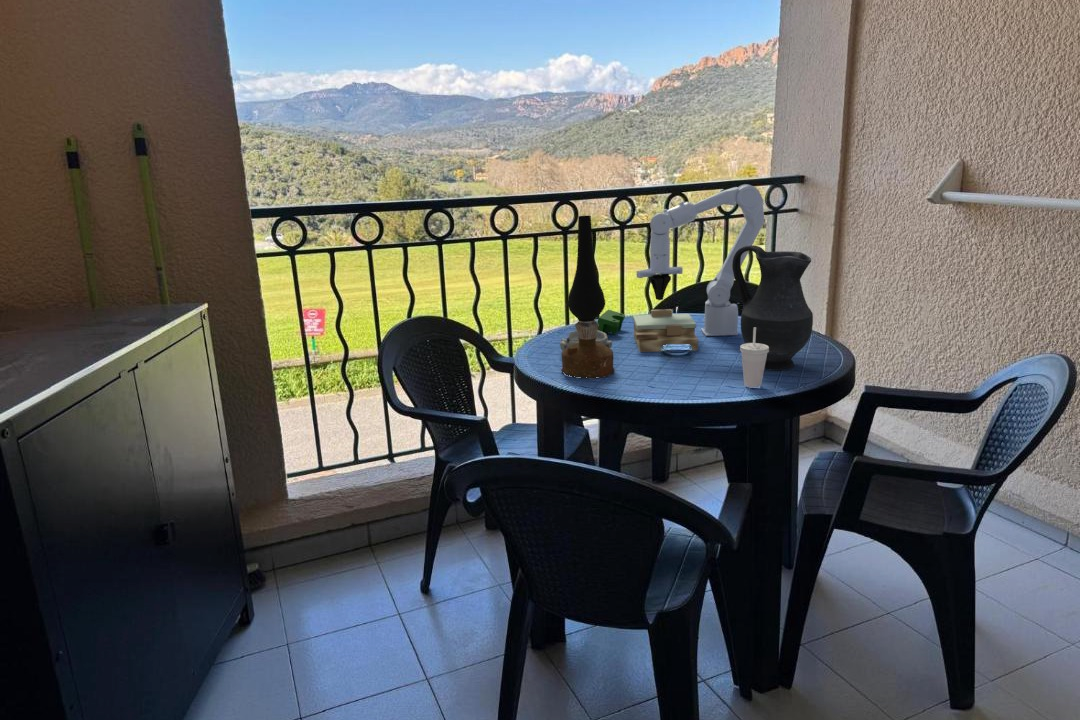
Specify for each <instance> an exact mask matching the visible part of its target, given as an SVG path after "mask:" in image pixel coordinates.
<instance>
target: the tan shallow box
mask: <svg viewBox="0 0 1080 720" xmlns="http://www.w3.org/2000/svg"><path fill="white" fill-rule="evenodd" d="M695 330H696V328H682V335H671V336H667V334H666V329H642V330H637V328H636V326H635V323H634V322H633V337H634V340H635V343H636V345H637V348H638V350H639V352H640V353H644V352H645V353H648V352H649V353H651V352H662V351H661V348H662V346H663V345H666V344H690V345H691V347H692V350H691V351H698V350H699V349H698V348H699V345H698V344H699V339H698V337H697V336H696V333H695V332H696V331H695ZM642 332H657V333H658V339H644V340H636V338H635V333H642Z"/></svg>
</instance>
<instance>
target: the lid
mask: <svg viewBox="0 0 1080 720" xmlns="http://www.w3.org/2000/svg"><path fill="white" fill-rule="evenodd" d="M632 320H633V324H634V323H635V326H636V328H637V330H642V329H666V334H667V336H671V335H682V328H695V329H696V328H697V323H696V322H695V320H694V319H693V317H692V316H691V315H690V314H689V313H673V310H672V309H671V308H669V309H668V308H666V309H664V308H663V309H660V308H659V309H650V314H637V315H635V314H633V315H632Z"/></svg>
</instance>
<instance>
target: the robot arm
mask: <svg viewBox="0 0 1080 720" xmlns="http://www.w3.org/2000/svg"><path fill="white" fill-rule="evenodd" d="M678 204H679V205H675V206H673V207H671V208H668V209H667V208H665V209H663V212H658V213H655V214H654V215H653V216H652V218H651V219H650V223H649V227H650V229H651V232H650V241H649V243H650V244H649V245H650V246H649V247H650V248H649V250H650V251H649V252H650V254H649V258H650V259H649V262H650V263H649V268H647V269H646V268H645V269H642V270H636V278H638V279H643V278H648V280H649V282H650V284H651V286H652V289H653V291H654V292H653V293H654V295H655V299H656V300H658V301H662V300H664V296H665V293H666V289H667V287H668V285H669V283H670V281H671V280H672V276H671V275H682V274H683V269H684V268H683V266H670V265H671V264H670V261H671V260H670V259H671V258H670V256H671V253H670V251H671V239H670V230H671V229H676V228H678V227H681V226H684V225H686V224H689V223H691V222H693V221H695V220H696V218H697V215H699V214H701V213H704V212H707V211H710V210H712V209H715V208H717V207H721V206H723V205H727V206H728V205H729V206H735V207H736V205H738V207H739V208H740V209H741V210H742V214H743V217H744V219H745V221H744V223H743V225H742V227H741V229H740V231H739V233H738V235H737V237H736V239H735V240H734V243H733V245H732V247H731V249H730V251H729V253H728V254H727V256H726V258H725V260H724V263H723V264H722V266H721V268H720V270H719V271H718V272H717V273H716V275H715V277H714V278H713V280H711V281H709V282H708V284H707V286H706V290H705V291H706V294H707V300H706V301H705V302H704V304H705V305H704V327H701V328H700V330H701V332H702V333H703V334H704V336H705V337H717V336H718V337H721V336H723V337H724V336H738V335H739V334H738V327H739V326H738V325H739V321H738V320H739V308H738V307H739V306H738V304H737V303H731V301H729V300H730V297H731V290H732V288H733V285H734V281H735V278H734V274H733V268H732V264H733V258H734V255H735V253H736V252H737V251H738V250H739V249H740V248H742V247H744V246H750V245H754V242H755V240H756V239H757V237H758V235H759V233H760V231H761V229H762V228H763V226H764V223H765V211H764V210H765V209H764V199H763V197H762V194H761V192H760V190H759V189H758V188H757V187H756V186H753V185H751V184H748V183H747V184H746V183H744V184H741V185H739V186H738V187H737V186H733V187H731V188H728V189H723V190H722V191H720V192H717V193H714V194H713V195H710V196H709V197H706V198H704V199H702V200H700V201H697V202H694V203H692V202H689V201H685V202H684V201H680V202H678ZM749 252H750V251H746V252H744V253H743V254H742V255H741V260H740V266H741V267H742V265H743V264H744V261H745V260H746V257H747V255H749Z"/></svg>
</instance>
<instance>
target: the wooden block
mask: <svg viewBox="0 0 1080 720" xmlns="http://www.w3.org/2000/svg"><path fill="white" fill-rule="evenodd" d="M635 338H636V340H644V339H658V333H657V332H642V333H635ZM635 338H634V339H635ZM636 340H635V341H636Z"/></svg>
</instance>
